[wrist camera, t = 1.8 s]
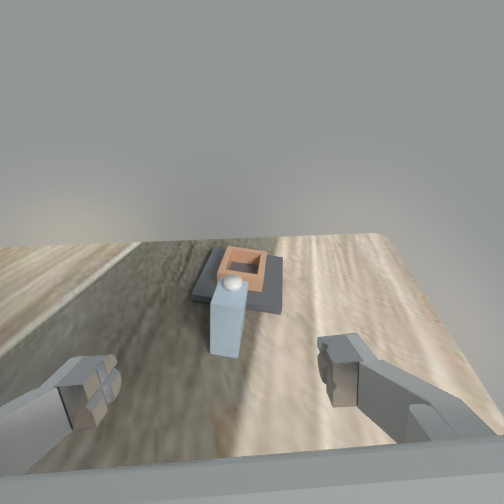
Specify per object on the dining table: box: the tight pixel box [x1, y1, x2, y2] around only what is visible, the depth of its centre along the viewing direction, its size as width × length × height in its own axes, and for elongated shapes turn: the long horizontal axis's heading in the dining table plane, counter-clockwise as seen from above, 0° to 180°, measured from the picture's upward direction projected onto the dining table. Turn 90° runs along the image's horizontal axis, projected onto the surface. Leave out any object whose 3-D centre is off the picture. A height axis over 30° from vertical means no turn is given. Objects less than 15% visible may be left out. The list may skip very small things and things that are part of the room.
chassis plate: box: [191, 246, 283, 315], centre depth 47 cm, size 16×16×4 cm
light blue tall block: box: [210, 274, 249, 358], centre depth 33 cm, size 4×5×11 cm
